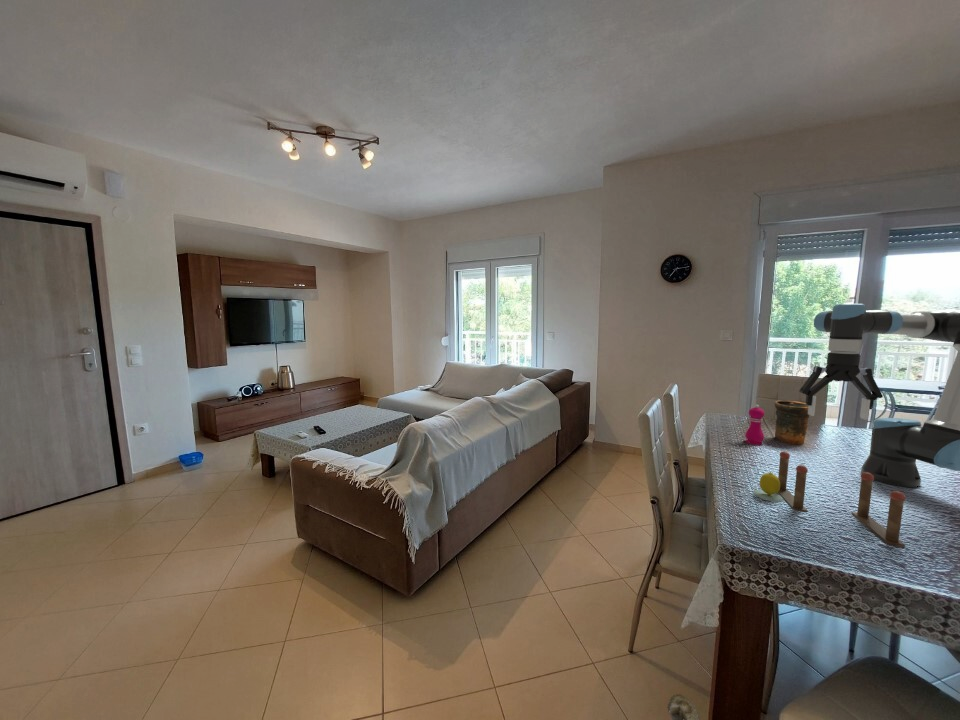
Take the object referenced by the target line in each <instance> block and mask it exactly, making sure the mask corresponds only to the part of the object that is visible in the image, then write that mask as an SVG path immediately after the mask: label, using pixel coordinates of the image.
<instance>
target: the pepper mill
mask: <svg viewBox="0 0 960 720" xmlns="http://www.w3.org/2000/svg"><path fill="white" fill-rule="evenodd" d="M748 415H749V419H748V420H749V421H750V424H749V427H748V428H747V430H746V431H745V432H746V433H745V438H746V441H745V442H746V443H747V444H750V445H756V446H761V445H763V443H762V442H763V441H764V439H765V435H764V432H763V430H762V427H761V426H762V422H763V420H764V419H763V418H764V417H765V411H764V410H763V409H762V408H760V405H759V404H754V407H752V408H750V409H749V411H748Z"/></svg>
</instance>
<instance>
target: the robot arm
mask: <svg viewBox="0 0 960 720" xmlns="http://www.w3.org/2000/svg"><path fill="white" fill-rule="evenodd" d="M866 306H867V305H865V304H864V303H838V304H835V305H833V307H832V310H828V311H827V310H826V311H824V310H823V311H821V312H819V313H817V314H816V315H815V317H814V318H813V327H814V328H815V329H816V330H817V331H818V332H822V333H823V332H824V333H825V332H826V333H829V338H828V339H829V340H828V347H827V350H828V351H829V352H828V353H827V357H826V366H825V367H823V366H819V365H818V366H817V365H815V366H814V367H813V369H812V373H810V376H809V377H808V378H807V379H806V381H805V382H804V383H803V385H802V386H801V387H800V389H799V393H802V394H803V395H805V404H806V405H809V406H808V414H809V416H811V417H815V413H816V404H817V396H815V395H816V394H817V393H818V392H820V391H821V390H822V389H823V388H824V387H826V386H827V385H828V384H830V383H831V382H834V381H835V382H846V383H847V382H850V383H851V384H852V385H854V387H856V389H857V390H858V391H859V392H860V393H861V394H862V395H863V396H864V397H861V404H860V414H859V418H860V419H862V420H864V421H868V420H869V415H870V410H872V409H874V408H873V407H874V403H875V402H874V401H875V400H877V399H882V398H883V397H884V396H883V394H882V391H881V390H880V388H879V386H878V384H877V383H876V381H875V379H874V376H873V370H872V369H871V368H869V367H863V368H859V366H860V363H861V361H860V360H861V354H860V352H862V345H863V344H862V343H863V334H865V335H866V334H867V335H868V334H869V335H877V334H879V335H900V336H902V335H903V336H904V335H905V336H907V337H909V338H911V339H925V340H930V341H931V340H932V341H938V342H945V343H946V342H947V343H953V344H952V347H953V348H954V349H955V350H956V351H957V353H956V356H955V359H954V361H953V364H952V367H951V369H950V372H949V375H948V378H947V380H946V382H945V384H944V388H943V391H942V394H941V397H940V398H939V401H938V404H937V407H936V410H935V412H934V414H933V418H931V419H928V420H926V421H924V422H923V424H922V422H921V421H919V420H916V419H910V418H908V419H907V418H895V417H894V418H892V417H879V418H876V419H874V421H873V425H872V427H871V437H870V449H869V455H868V457H867V458H866V459H865V461H864V463H863V464H862V465H861V469H860V475H861V474H862V473H864V472H868V473H871V474H872V475H873V476H874V480H873V481H876V482H880V483H883V484H888V485H891V486H896V487H897V486H898V487H904V488H905V487H906V488H917V486H918V487H920V486H921V482H922V479H921V475H920V473H919V469H918V466H917V461H920V462H923V463H927V464H928V465H929V464H930V465H933V466H936V467H937V468H942V469H948V470H950V471H953V472H960V308H950V309H949V308H948V309H940V310H939V309H938V310H929V311H926V310H925V311H924V310H923V311H922V310H919V311H917V310H916V311H914V312H911V313H903V312H902V313H900V312H898V311H895V310H892V309H891V310H890V309H872V310H867V309H866ZM824 372H825V374H826V375H824V376H823V377H822V378H821V380H820V379H819V378H820V376H821V375H822V374H823V373H824ZM859 374H860V375H862V376H863V379H864V382H865V383H866V384H867V387H868V388H867V387H866V386H865V385H864V384H863V383H862V382H861V380H860V379H859V378H858V377H857V376H858V375H859ZM818 379H819V381H818V382H817V383H816V381H817V380H818ZM815 383H816V384H815Z"/></svg>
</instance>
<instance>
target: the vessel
mask: <svg viewBox="0 0 960 720" xmlns="http://www.w3.org/2000/svg"><path fill="white" fill-rule="evenodd" d="M774 406H775V410H776V411H775V415H776V419H775V431H774V439H775V440H776V441H777V442H781V443H785V444H787V445H788V444H790V445H800V446H801V445H804V444H805V439H806V435H807V431H808V427H809V425H808V423H809V418H810V415H809V414H808V406H809V405H806V402H801V401H794V400H776V401H775V402H774Z"/></svg>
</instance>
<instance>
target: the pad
mask: <svg viewBox="0 0 960 720" xmlns="http://www.w3.org/2000/svg"><path fill="white" fill-rule="evenodd" d="M753 494H754V495H755V496H756V497H758V498H760V499H762V500H766V501H769V502H779V503H780V502H783V500H784V499H783V497H782V496H781V495H780V494H779V493H776V494H771V495H767V493H765V492H764V491H763V490H762V489H756V490H753Z"/></svg>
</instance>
